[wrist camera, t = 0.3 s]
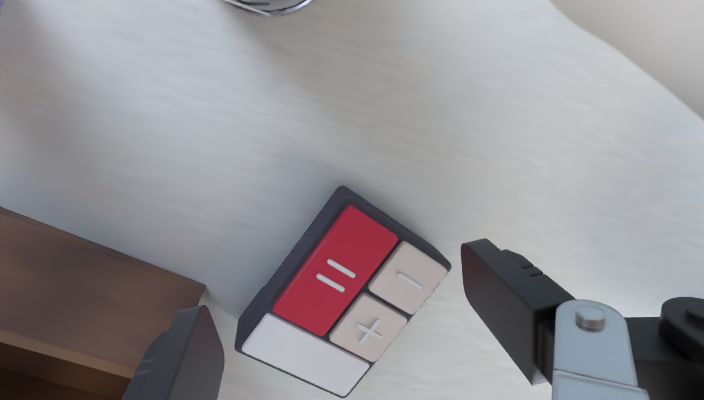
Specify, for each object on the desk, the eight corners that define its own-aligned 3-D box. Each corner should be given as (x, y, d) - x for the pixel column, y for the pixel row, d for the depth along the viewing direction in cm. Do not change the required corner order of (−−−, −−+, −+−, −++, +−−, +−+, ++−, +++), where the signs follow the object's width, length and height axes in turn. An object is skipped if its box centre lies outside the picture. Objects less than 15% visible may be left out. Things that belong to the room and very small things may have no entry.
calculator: (459, 270, 29) (346, 408, 31) (436, 247, 33) (338, 371, 35) (349, 196, 26) (230, 357, 28) (339, 180, 30) (236, 322, 32)
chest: (-67, 349, 29) (-232, 482, 19) (-15, 201, 26) (-180, 277, 17) (141, 404, 33) (86, 531, 24) (205, 284, 30) (170, 379, 21)
